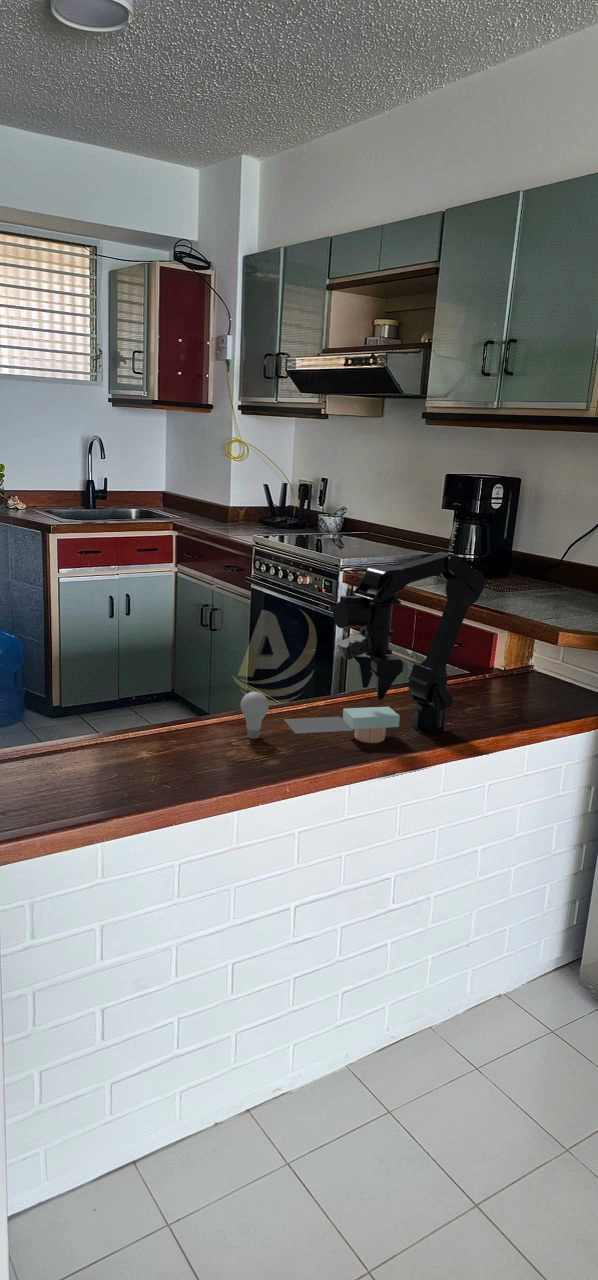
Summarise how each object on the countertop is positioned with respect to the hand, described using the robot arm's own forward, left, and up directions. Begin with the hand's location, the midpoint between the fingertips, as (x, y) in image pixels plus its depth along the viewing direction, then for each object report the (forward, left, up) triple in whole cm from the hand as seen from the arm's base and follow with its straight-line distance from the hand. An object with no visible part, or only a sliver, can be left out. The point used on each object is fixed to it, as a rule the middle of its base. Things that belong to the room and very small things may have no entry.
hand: (372, 693), depth 193 cm
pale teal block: (0, 0, -7) cm, 7 cm away
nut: (0, 0, -11) cm, 11 cm away
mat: (+9, -10, -11) cm, 17 cm away
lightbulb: (+26, -4, -11) cm, 28 cm away
